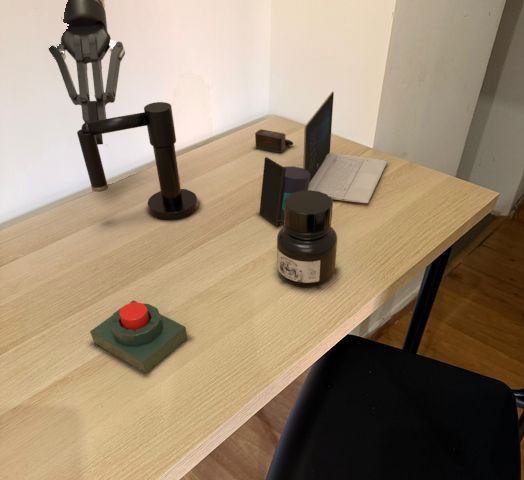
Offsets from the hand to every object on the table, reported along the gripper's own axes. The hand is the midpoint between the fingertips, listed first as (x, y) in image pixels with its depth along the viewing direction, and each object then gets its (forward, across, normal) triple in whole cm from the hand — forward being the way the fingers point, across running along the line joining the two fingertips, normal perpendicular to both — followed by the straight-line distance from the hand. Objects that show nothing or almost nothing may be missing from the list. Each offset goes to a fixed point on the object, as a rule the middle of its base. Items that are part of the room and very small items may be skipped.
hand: (97, 141), depth 93 cm
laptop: (+8, -46, -8) cm, 47 cm away
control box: (+37, -7, +21) cm, 43 cm away
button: (+34, -7, +23) cm, 42 cm away
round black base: (+12, -12, -4) cm, 17 cm away
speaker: (+16, -32, 0) cm, 36 cm away
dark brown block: (-4, -34, -20) cm, 39 cm away
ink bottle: (+28, -32, +12) cm, 44 cm away
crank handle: (+8, -6, +1) cm, 10 cm away
